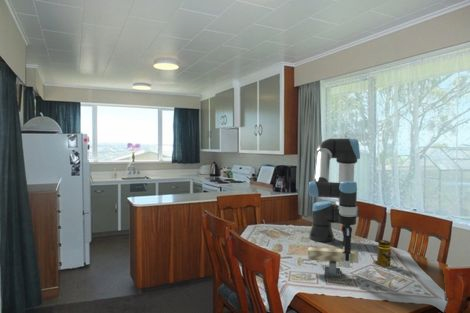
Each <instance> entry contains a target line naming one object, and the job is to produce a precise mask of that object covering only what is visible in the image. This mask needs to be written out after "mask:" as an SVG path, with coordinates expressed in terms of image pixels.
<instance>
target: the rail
mask: <svg viewBox="0 0 470 313" xmlns="http://www.w3.org/2000/svg"><path fill="white" fill-rule="evenodd" d="M341 277H342V274H341V267H340V268H339V267H337V262H335V261H328V266H324V278H331V279H341Z"/></svg>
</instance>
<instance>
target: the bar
mask: <svg viewBox="0 0 470 313" xmlns="http://www.w3.org/2000/svg"><path fill="white" fill-rule="evenodd" d="M343 252H344V249H343V248H331V247H330V248H327V247H310V246H309V247H308V248H307V257H308V259H307V260H308V261H322V262H329V261H335V262H336V263H344V253H343ZM351 263H352V264H353V263H355V264H359V250H358V249H351V254H350V264H351Z"/></svg>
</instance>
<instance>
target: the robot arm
mask: <svg viewBox="0 0 470 313" xmlns="http://www.w3.org/2000/svg"><path fill="white" fill-rule="evenodd" d="M314 158H315V166H314V172H313V173H314V175H313V180H312V181H309V183H308V191H307V192H308V195H309V197H316V198H332V199H334V198H335V199H337V200H336V201H335V203H333V202H332V201H328V200H326V201H317V202H314V203H313V205H312V210H311V211H312V222H311V223H312V224H311V229H310V232H309V235H308V236H309V239H310V240H312V241H316V242H322V243H326V242H327V243H330V242H333V241H334V240H335V234H334V232H333V227H332V224H340V225H342V235H343V236H342V238H343V239H342V249H344V252H343V253H344V262H343V268H344V269H345V268H347V269H350V268H351V262H350V254H351V250H352V249H351V247H352V246H351V243H352V242H351V241H352V232H353V228H352V226H355V225H356V224H357V218H358V213H359V212H358V210H359V206H358V205H357V198H358V195H357V194H358V184H357V182H356V181H355V180H354V179H355V165H356V164H357V163H358V160H360V159H361V152H360V144H359V140H358V139H356V138H350V137H349V138H327V139H325V140H324V141H322V142H320V144H319V143H318V145H317V146H316V149H315V151H314ZM331 159H336V163H338V182H333V181H332V182H331V181H330V164H331V162H330V161H331Z"/></svg>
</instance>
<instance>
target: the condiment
mask: <svg viewBox="0 0 470 313" xmlns="http://www.w3.org/2000/svg"><path fill="white" fill-rule="evenodd" d="M391 255H392V247H391V242H390V241H389V240H385V239H381V240H380V239H379V240H378V244H377V254H376V257H377V258H376V259H377V260H375V259H373V261H372V264H371V266H376V267H381V268H385V269H392V264H393V263H391V257H392V256H391Z"/></svg>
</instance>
